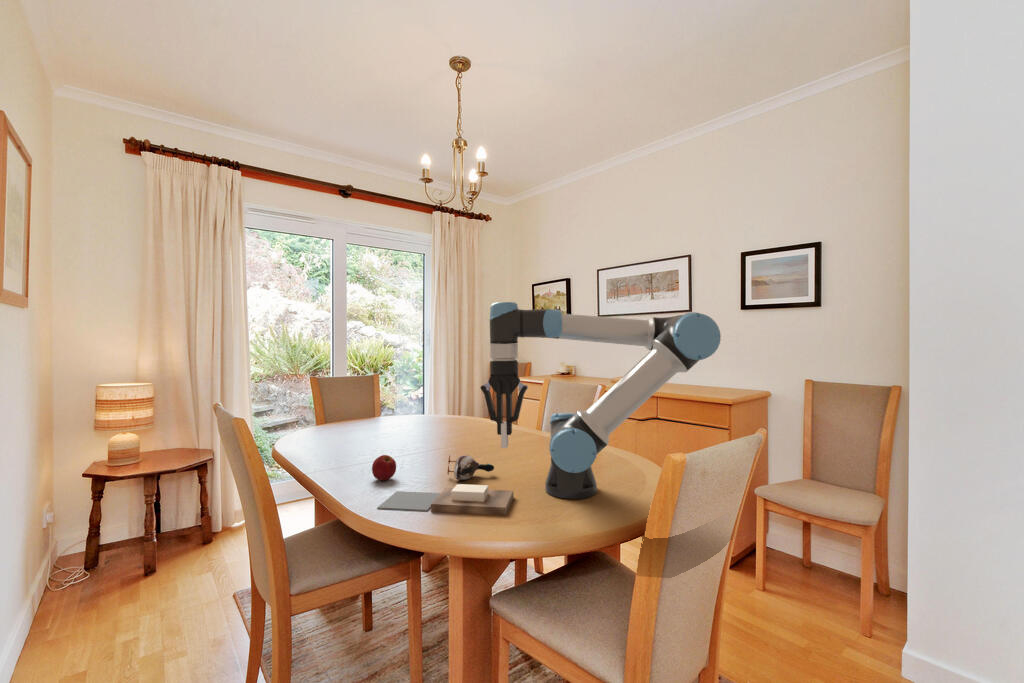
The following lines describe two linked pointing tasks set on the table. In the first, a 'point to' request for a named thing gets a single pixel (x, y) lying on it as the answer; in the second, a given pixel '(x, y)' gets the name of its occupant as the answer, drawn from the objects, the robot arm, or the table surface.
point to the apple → (384, 467)
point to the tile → (469, 492)
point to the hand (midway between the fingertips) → (504, 446)
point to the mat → (409, 501)
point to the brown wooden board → (474, 503)
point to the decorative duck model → (467, 467)
